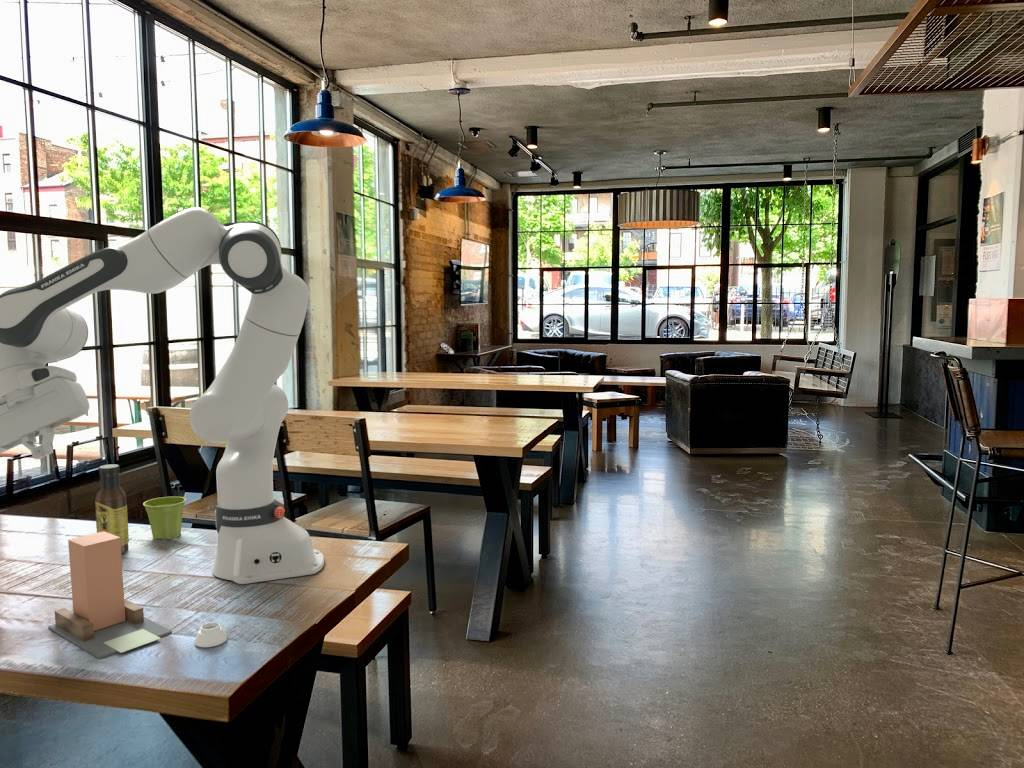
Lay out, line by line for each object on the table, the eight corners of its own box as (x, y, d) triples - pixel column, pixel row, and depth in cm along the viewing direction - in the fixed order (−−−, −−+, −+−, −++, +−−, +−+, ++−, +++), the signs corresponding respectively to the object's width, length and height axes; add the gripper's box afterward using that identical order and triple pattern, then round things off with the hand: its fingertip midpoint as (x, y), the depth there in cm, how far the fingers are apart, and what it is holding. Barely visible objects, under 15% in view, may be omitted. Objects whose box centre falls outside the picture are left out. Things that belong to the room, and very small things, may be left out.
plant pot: (140, 535, 186) (138, 500, 185) (181, 528, 192) (179, 494, 191) (151, 545, 179) (149, 508, 178) (193, 537, 185) (191, 501, 184)
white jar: (231, 644, 128) (222, 633, 132) (230, 626, 128) (221, 617, 132) (199, 652, 125) (191, 641, 129) (198, 634, 125) (190, 624, 129)
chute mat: (48, 628, 134) (48, 625, 134) (118, 606, 144) (118, 603, 144) (103, 661, 122) (103, 658, 122) (176, 635, 131) (176, 632, 131)
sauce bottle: (94, 552, 174) (88, 465, 172) (124, 546, 179) (119, 461, 176) (103, 559, 170) (97, 470, 168) (133, 552, 174) (128, 465, 172)
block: (74, 623, 135) (68, 539, 133) (109, 612, 139) (103, 531, 138) (89, 632, 131) (83, 546, 129) (125, 620, 136) (120, 537, 134)
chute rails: (55, 624, 135) (54, 611, 134) (114, 606, 142) (113, 593, 142) (84, 641, 128) (83, 627, 128) (144, 621, 136) (143, 607, 135)
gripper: (-40, 409, 142) (-21, 478, 139) (60, 362, 142) (82, 430, 138) (-14, 414, 148) (5, 481, 145) (83, 369, 148) (103, 435, 145)
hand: (43, 456), depth 142 cm, fingers closed
